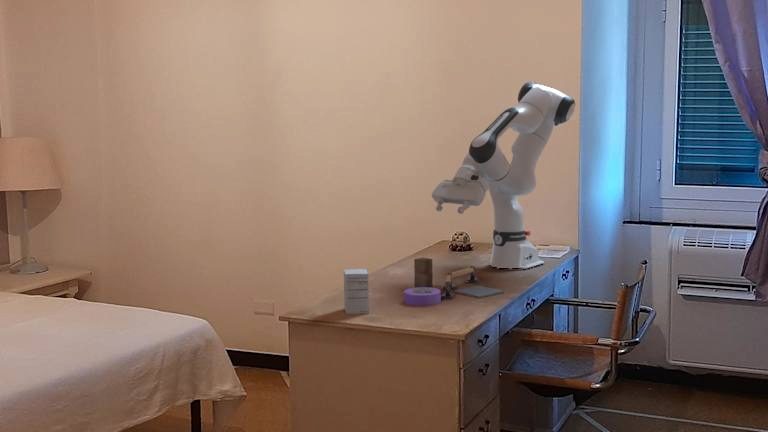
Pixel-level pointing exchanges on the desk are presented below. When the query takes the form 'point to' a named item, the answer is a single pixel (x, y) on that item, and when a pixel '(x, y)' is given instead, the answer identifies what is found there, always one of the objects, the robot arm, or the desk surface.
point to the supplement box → (356, 291)
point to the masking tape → (422, 296)
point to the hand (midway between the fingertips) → (448, 211)
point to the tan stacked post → (423, 272)
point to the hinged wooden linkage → (449, 286)
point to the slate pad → (478, 291)
